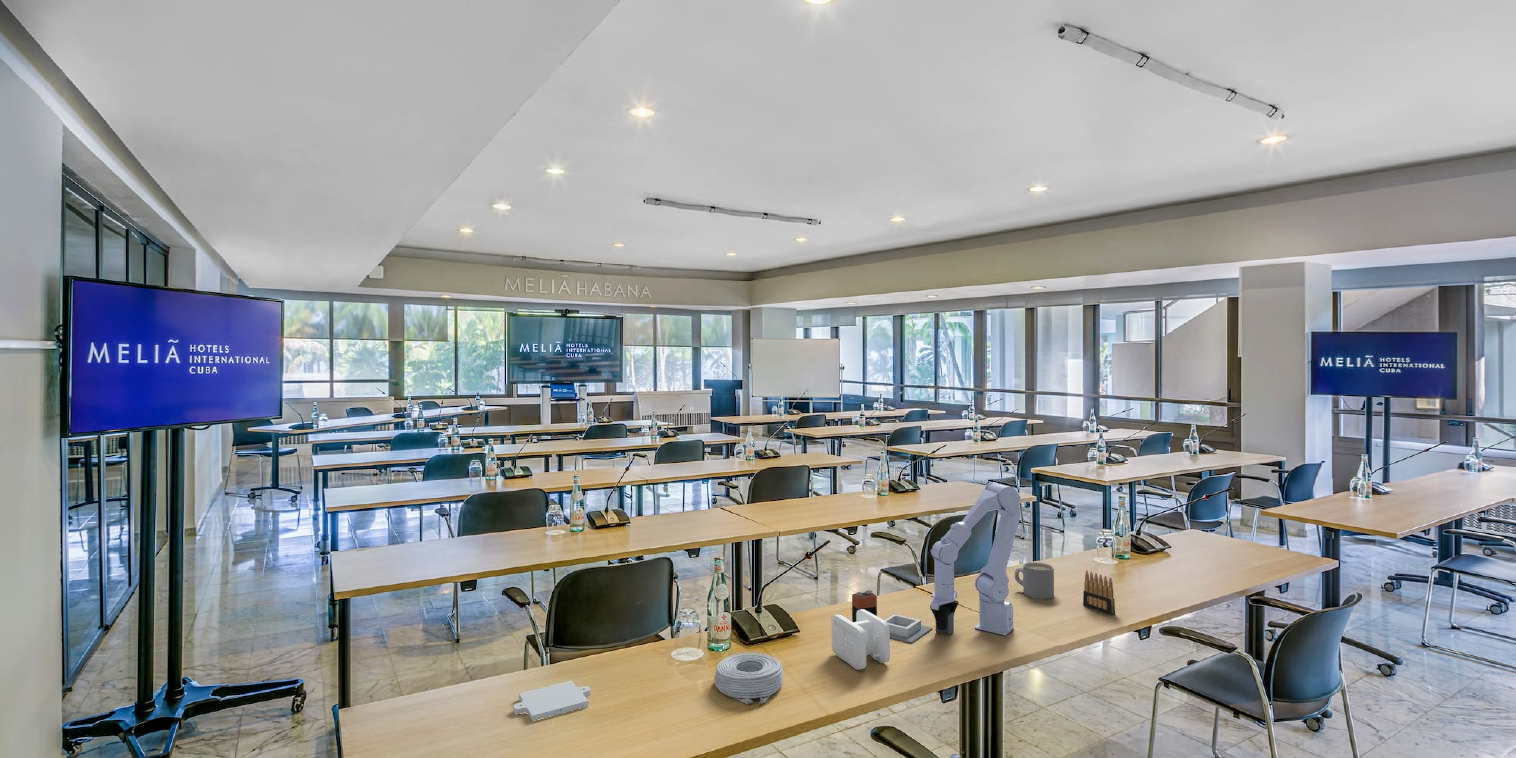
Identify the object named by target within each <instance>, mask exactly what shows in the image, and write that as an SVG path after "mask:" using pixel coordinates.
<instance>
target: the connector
mask: <svg viewBox="0 0 1516 758" xmlns="http://www.w3.org/2000/svg"><path fill="white" fill-rule="evenodd" d="M954 616H955V613H954V612H950V611H949V613H948V616H947V621H946V628H945V630H940V629H938V628H937V624H936V623H935V634H938V633H939V634H938V635H942V634H943V635H942V636H947V637H949V636H951V635H952V634H954V632H955V622H954V621H955V619H954ZM950 634H951V635H950Z"/></svg>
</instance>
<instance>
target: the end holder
mask: <svg viewBox="0 0 1516 758" xmlns="http://www.w3.org/2000/svg"><path fill="white" fill-rule="evenodd" d="M884 620H885V621H886V622H887V624H888V625H889V629H890V639H893V640H896V641H900V642H903V643H907V644H911V645H912V644H913V643H915V642H916V641H918V640H919V639H921V638H922V637H924V636H925V635H927V634H928V633H929V632H931V631H932V630H933V627H930V626H927V625H923V624H922V619H918V618H913V617H909V616H904V615H900V614H895V613H893V614H892V615H890V616H889V617H887V618H886V619H884ZM926 633H927V634H926Z"/></svg>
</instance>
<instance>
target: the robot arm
mask: <svg viewBox="0 0 1516 758" xmlns="http://www.w3.org/2000/svg"><path fill="white" fill-rule="evenodd" d="M1020 501H1021V496H1020V494H1019V493H1018V491H1017V489H1016V488H1014V487H1013V486H1008V485H1004V484H1001V483H998V482H994V481H993V482H992V481H991V482H989V483H988V484H987V485H986V486H985V488H984V489H982V490H981V491H980V494H979V497H978V499H977V500H976V501H975V503H974V504H973V506H972V507H971V509H969V511H968V513H967V514H966V515H965V516H964V518H963V519H962V521H956V522H955V523H952V524H951V525H950V529H949V530H948V531H947V533H945V535H944V536H941V538H940V540H938V541H936V542H935V543H934V544H933V546H932V547H931V549H930V554H931V555H930V556H932V558H933V560H934V569H933V570H934V571H933V572H934V593H932V594H931V595H930V598H933V599H932V601H931V603H930V605H929V610H931V612H932V614H933V616H934V619H935V625H936V624H937V628H938V629H940V630H945V628H946V621H947V616H948V613H949V611H950V612H954V614H955V613H956V609H957V607H958V606H959V603H960V602H959V601H958V600H956V599H957V598H958V591H957V590H955V562H956V561H957V559H958V557H959V552H960V549H961V548H962V547H963V546H964V545H965V544H966V542H967V541H968V540H969V538H970V537H971V536H972V529H973V528H974V527H975V526H976V524H977V523H978V522H980V521H981V519H982V518H984V517H985V515H986V514H987V513H988V512H989V511H995V510H996V511H997V512H998V513H999V515H1000V519H999V520H998V525H997V528H996V531H995V532H996V533H995V536H994V540H993V543H992V546H991V547H992V548H991V550H990V554H989V557H988V561H987V564H986V565H985V566H983V567H982V568H981V569H980V572H979V574H978V576H977V577H976V579H975V582H974V586H975V587H974V588H975V589H976V591H977V592H978V597H979V598H978V600H979V603H978V604H979V605H978V606H979V612H978V613H979V623H978V624H977V625H975V626H974V629H976V630H980V631H984V632H989V633H993V634H998V635H1003V636H1007V635H1008V634H1009V633H1010V632H1011V631H1012V630H1013V629H1015V626H1014V606H1013V603H1012V602H1010V601H1007V600H1006V599H1007V598H1008V596H1009V591H1010V589H1009V582H1010V578H1009V576H1008V574H1007V567H1008V564H1009V560H1010V556H1011V553H1012V549H1013V545H1014V542H1015V539H1016V538H1015V537H1016V535H1017V530H1018V527H1019V524H1020V520H1021V516H1022V513H1021V507H1020Z"/></svg>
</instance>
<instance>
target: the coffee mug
mask: <svg viewBox="0 0 1516 758" xmlns="http://www.w3.org/2000/svg"><path fill="white" fill-rule="evenodd" d="M1020 572H1021V574H1022V579H1021V578H1020ZM1054 577H1055V567H1054V566H1053V565H1051V564H1049V563H1044V562H1037V561H1036V562H1035V561H1034V562H1033V561H1032V562H1025V563H1023V566H1022V567H1017V568H1016V569H1015V571H1014V579H1015V582H1016V583H1017V584H1019V585H1020V586H1022V587H1023V595H1025V596H1026V597H1028V598H1033V599H1038V600H1049V599H1053V598H1054V597H1055V578H1054Z"/></svg>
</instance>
